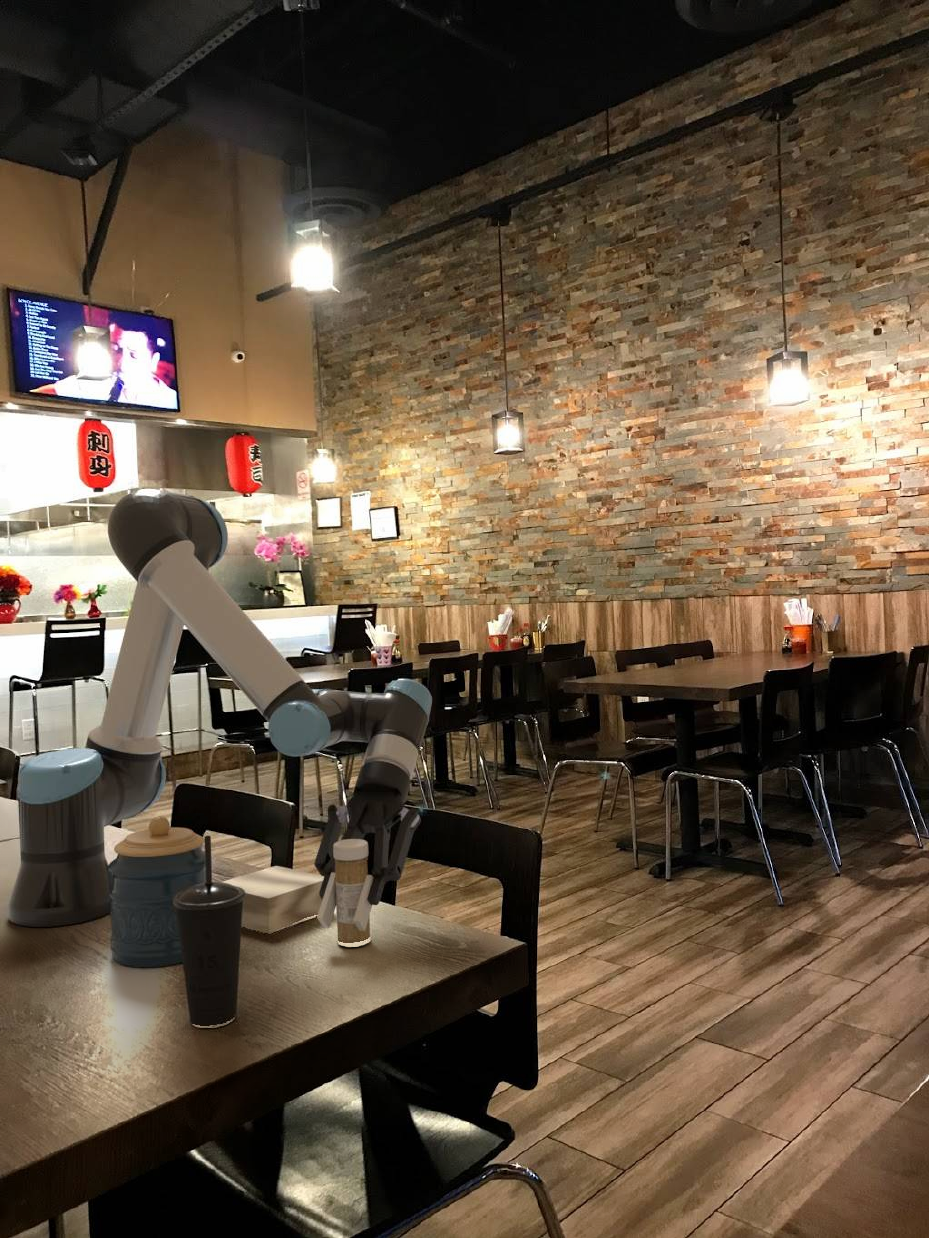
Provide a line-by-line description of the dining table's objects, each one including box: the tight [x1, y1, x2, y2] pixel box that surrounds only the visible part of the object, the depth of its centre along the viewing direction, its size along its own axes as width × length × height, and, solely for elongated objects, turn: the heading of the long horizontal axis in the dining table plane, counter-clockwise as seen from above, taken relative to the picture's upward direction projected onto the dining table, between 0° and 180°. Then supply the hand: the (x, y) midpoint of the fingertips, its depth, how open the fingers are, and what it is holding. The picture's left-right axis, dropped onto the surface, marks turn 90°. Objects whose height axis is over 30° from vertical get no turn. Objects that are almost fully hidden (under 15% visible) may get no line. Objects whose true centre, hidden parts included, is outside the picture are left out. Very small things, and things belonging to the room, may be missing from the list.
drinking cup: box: [173, 835, 245, 1026], centre depth 107 cm, size 8×8×20 cm
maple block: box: [222, 865, 324, 935], centre depth 143 cm, size 12×12×5 cm
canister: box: [108, 816, 213, 968], centre depth 129 cm, size 13×13×18 cm
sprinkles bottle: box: [333, 839, 371, 943], centre depth 130 cm, size 5×5×13 cm
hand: (341, 924), depth 127 cm, fingers closed on sprinkles bottle, 4 cm apart
